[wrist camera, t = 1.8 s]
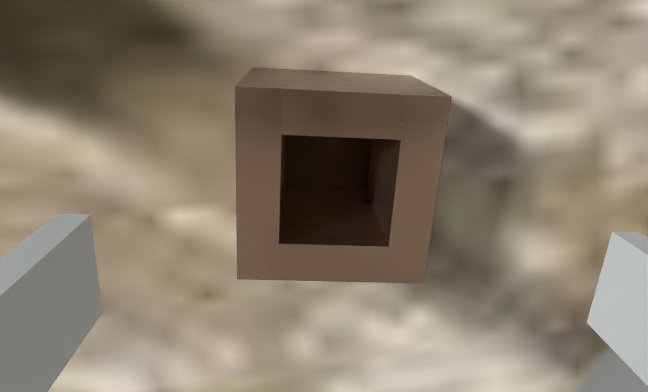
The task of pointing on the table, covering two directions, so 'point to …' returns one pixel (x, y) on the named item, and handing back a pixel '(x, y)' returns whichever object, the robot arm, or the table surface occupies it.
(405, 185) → the link
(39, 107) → the table surface
